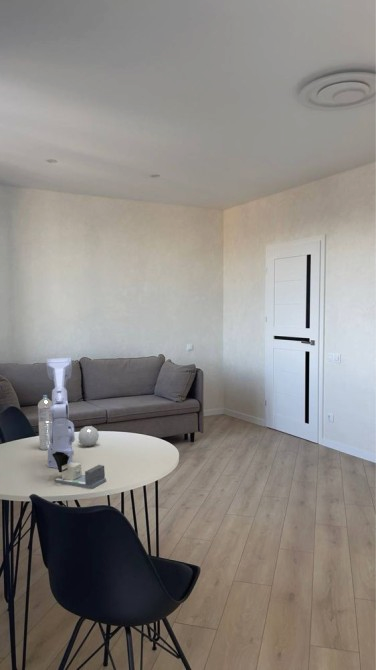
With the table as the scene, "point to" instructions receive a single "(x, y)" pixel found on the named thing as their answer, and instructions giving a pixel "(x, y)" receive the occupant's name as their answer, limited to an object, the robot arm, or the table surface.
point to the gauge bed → (79, 482)
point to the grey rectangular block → (94, 475)
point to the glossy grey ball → (88, 436)
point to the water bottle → (44, 422)
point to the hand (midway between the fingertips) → (62, 471)
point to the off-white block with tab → (71, 471)
